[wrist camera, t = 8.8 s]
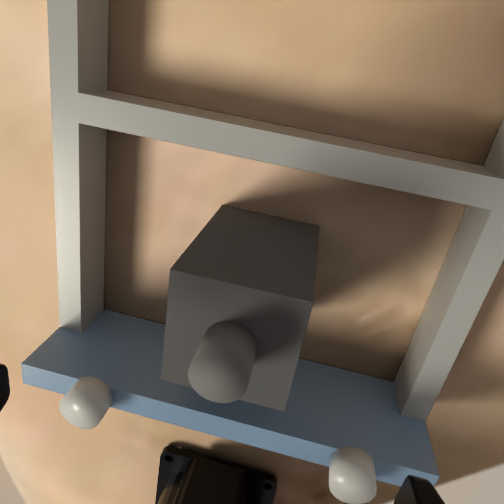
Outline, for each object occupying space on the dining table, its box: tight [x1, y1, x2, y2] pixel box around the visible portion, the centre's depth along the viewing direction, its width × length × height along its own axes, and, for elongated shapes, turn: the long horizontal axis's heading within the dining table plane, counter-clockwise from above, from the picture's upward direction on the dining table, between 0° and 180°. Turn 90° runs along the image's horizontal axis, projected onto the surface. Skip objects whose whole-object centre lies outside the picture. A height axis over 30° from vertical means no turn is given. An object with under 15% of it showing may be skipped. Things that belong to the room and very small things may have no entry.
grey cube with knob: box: [161, 205, 319, 411], centre depth 14 cm, size 4×4×8 cm
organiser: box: [21, 0, 504, 504], centre depth 13 cm, size 22×16×6 cm
